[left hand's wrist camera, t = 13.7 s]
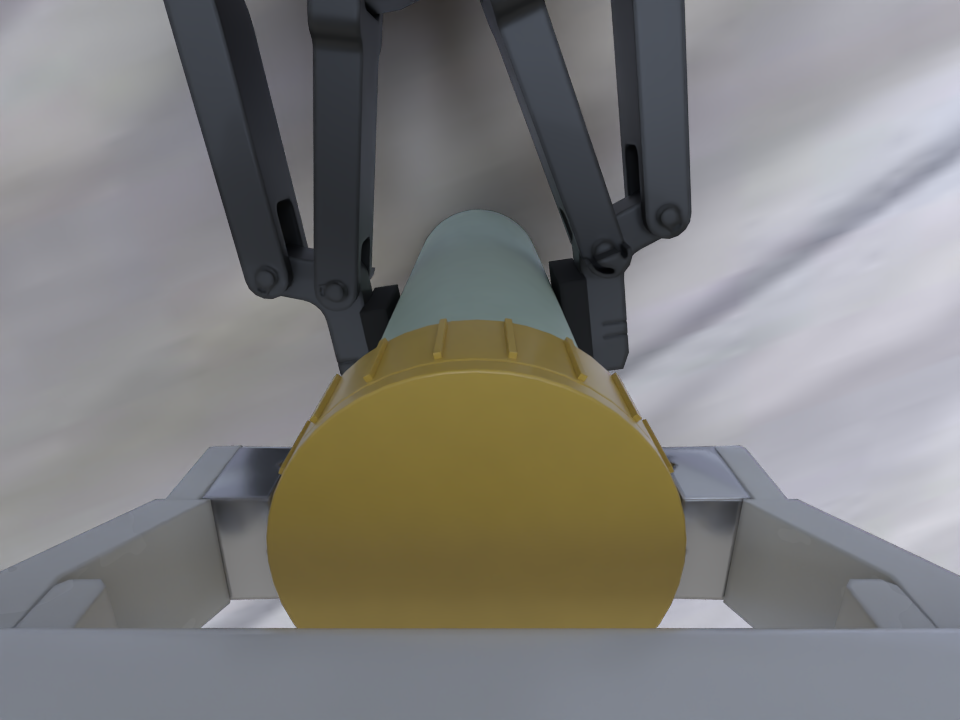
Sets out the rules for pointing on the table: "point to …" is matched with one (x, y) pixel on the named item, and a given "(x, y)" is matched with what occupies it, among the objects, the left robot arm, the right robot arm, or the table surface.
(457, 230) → the jar
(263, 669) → the left robot arm
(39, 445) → the table surface
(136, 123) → the table surface
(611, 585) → the lid
